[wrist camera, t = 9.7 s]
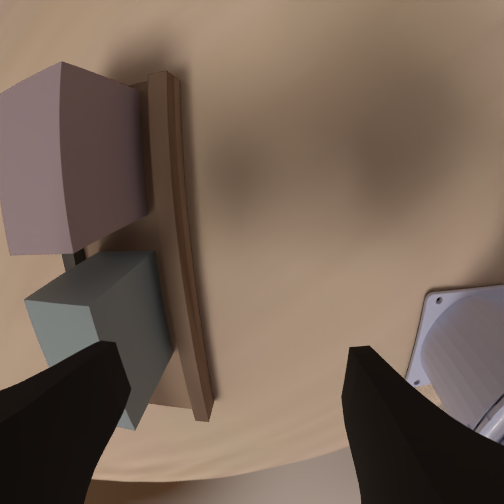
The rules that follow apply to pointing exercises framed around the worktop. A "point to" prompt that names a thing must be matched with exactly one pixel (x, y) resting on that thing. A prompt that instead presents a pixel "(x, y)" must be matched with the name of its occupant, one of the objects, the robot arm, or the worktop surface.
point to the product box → (108, 319)
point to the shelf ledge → (166, 246)
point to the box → (69, 160)
